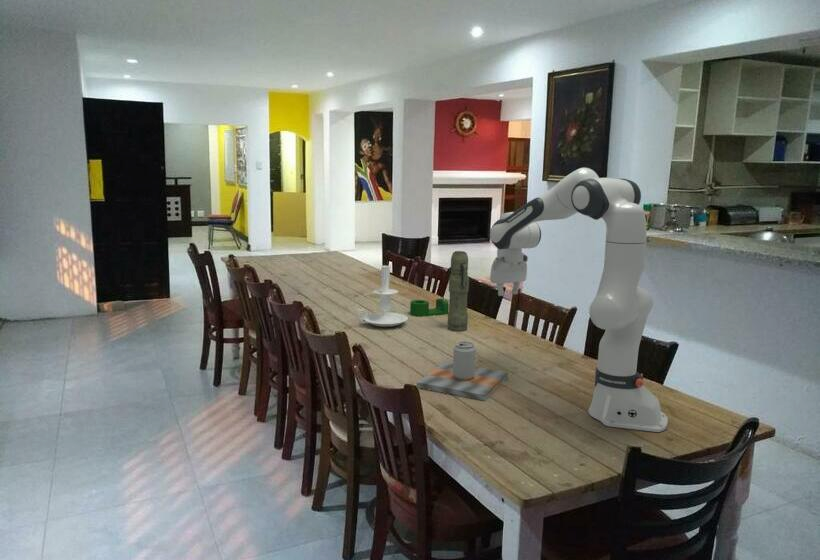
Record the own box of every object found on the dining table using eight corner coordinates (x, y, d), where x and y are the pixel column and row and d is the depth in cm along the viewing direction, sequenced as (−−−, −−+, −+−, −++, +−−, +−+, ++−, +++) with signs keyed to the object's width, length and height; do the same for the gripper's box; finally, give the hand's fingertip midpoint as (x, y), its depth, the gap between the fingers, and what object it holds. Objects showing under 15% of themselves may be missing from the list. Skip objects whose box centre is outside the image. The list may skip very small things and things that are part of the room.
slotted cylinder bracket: (414, 317, 297) (414, 304, 296) (407, 313, 306) (407, 300, 304) (448, 314, 304) (448, 301, 303) (440, 310, 312) (440, 298, 311)
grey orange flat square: (507, 377, 218) (507, 372, 217) (484, 401, 197) (484, 395, 196) (444, 366, 228) (444, 361, 228) (416, 387, 207) (416, 382, 206)
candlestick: (347, 322, 286) (347, 263, 281) (394, 316, 298) (395, 259, 292) (366, 334, 268) (366, 270, 263) (415, 327, 280) (416, 266, 275)
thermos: (458, 324, 286) (460, 249, 279) (472, 330, 276) (475, 253, 269) (442, 326, 282) (444, 250, 275) (456, 333, 271) (458, 254, 265)
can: (462, 371, 217) (463, 338, 215) (479, 377, 212) (480, 343, 209) (448, 376, 212) (449, 343, 210) (464, 382, 207) (466, 348, 204)
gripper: (501, 257, 215) (500, 297, 216) (530, 256, 230) (529, 293, 231) (486, 257, 219) (485, 296, 220) (515, 256, 234) (514, 292, 235)
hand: (508, 294), depth 226 cm, fingers open, 8 cm apart
